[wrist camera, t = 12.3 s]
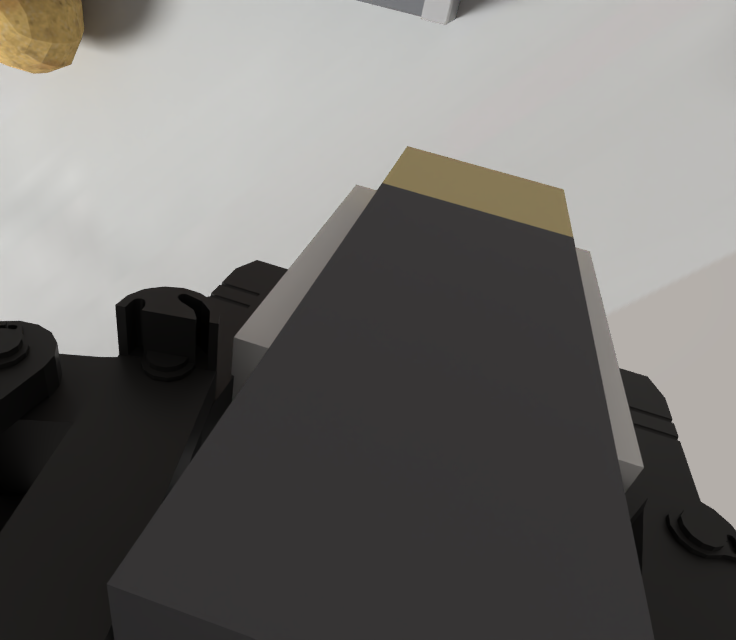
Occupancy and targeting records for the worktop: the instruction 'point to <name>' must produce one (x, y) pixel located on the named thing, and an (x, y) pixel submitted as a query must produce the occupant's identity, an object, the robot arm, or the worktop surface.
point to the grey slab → (423, 8)
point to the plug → (409, 446)
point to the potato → (40, 33)
